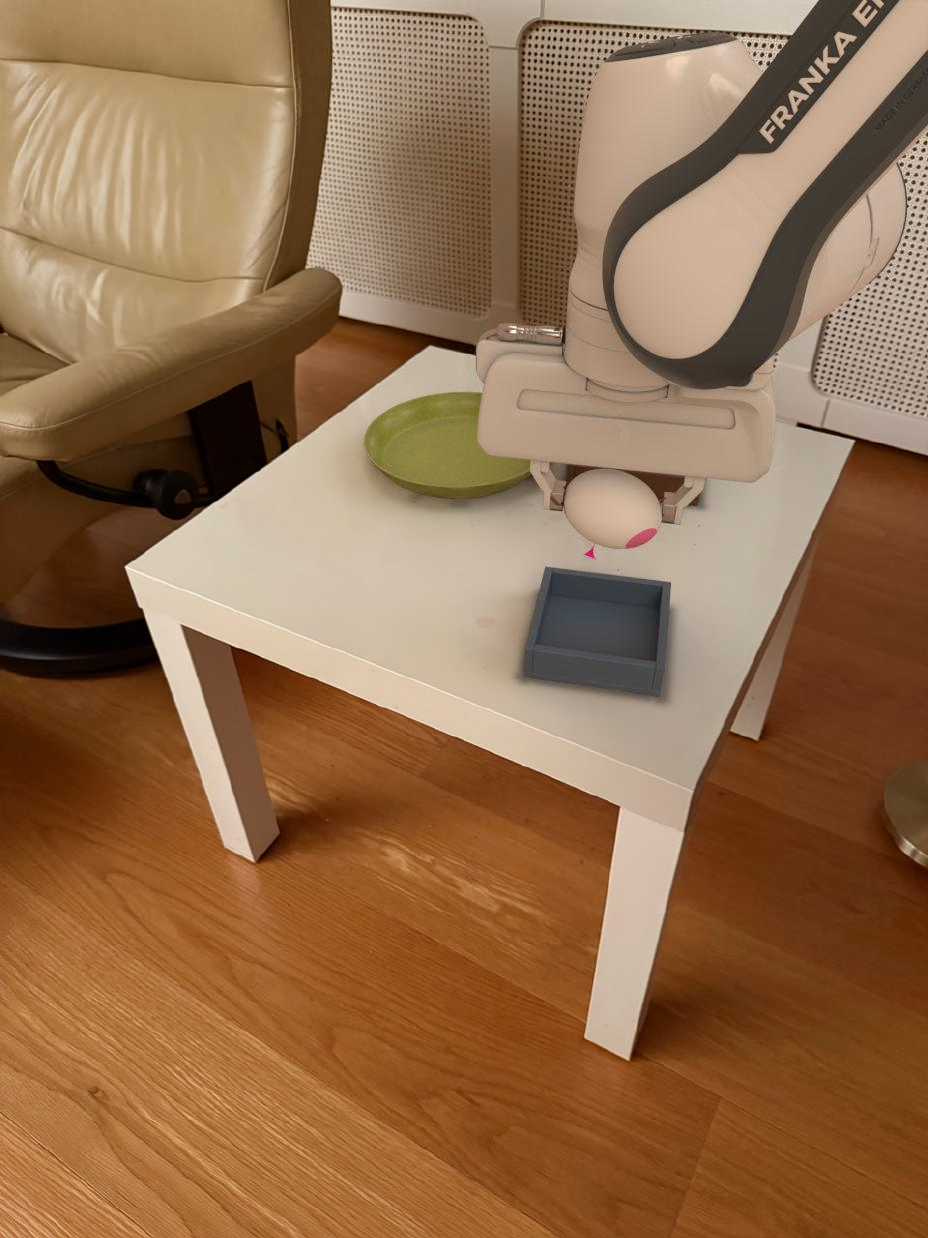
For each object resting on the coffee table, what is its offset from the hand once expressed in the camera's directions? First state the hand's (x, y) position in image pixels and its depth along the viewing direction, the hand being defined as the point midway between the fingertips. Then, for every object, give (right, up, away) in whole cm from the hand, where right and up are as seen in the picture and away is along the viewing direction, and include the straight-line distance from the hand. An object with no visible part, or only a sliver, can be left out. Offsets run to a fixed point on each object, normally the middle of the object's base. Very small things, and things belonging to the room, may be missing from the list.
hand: (612, 513), depth 65 cm
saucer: (-12, +9, +32) cm, 35 cm away
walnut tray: (+8, +9, +30) cm, 33 cm away
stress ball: (0, -2, +2) cm, 2 cm away
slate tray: (0, -10, +9) cm, 13 cm away
